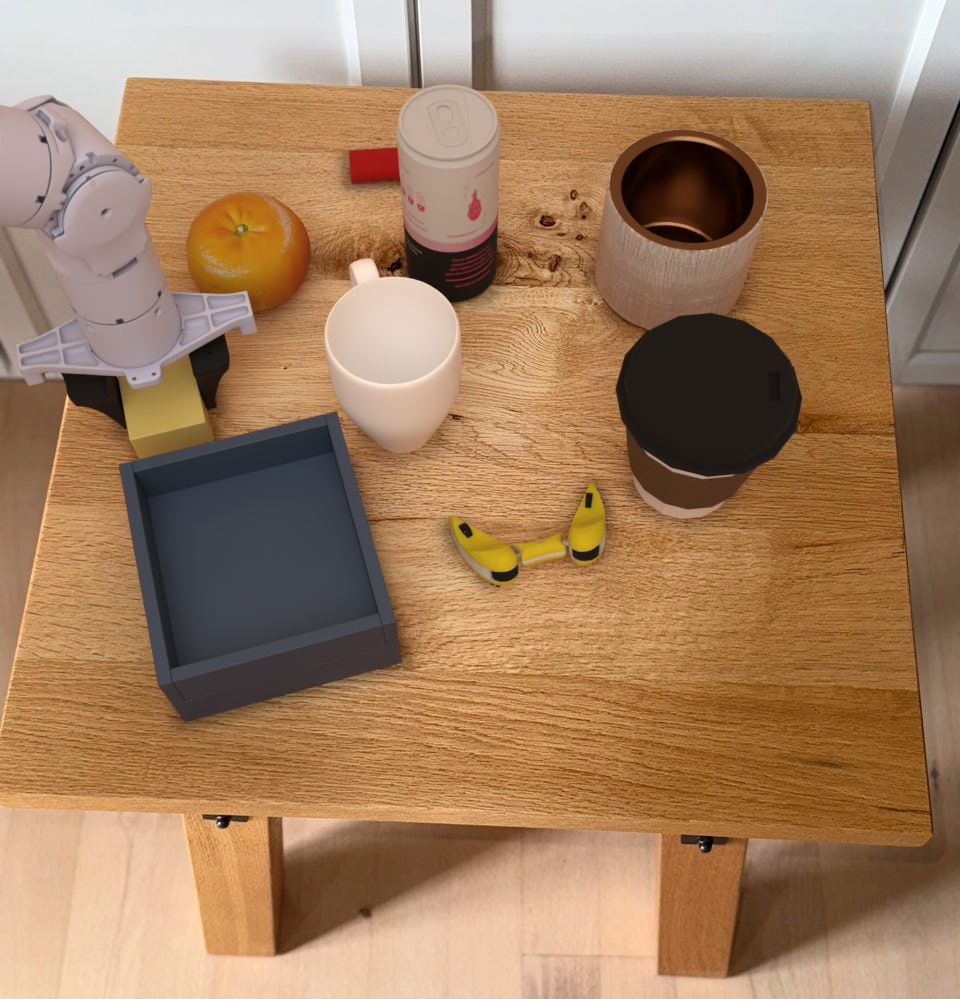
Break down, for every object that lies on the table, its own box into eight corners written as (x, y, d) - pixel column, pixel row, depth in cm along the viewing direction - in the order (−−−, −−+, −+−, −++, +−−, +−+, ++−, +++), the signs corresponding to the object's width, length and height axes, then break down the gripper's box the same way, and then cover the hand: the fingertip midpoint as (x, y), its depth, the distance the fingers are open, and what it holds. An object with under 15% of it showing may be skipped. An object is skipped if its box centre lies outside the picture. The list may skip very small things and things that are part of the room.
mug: (479, 459, 81) (479, 365, 71) (361, 494, 80) (344, 404, 70) (424, 321, 86) (417, 215, 76) (312, 352, 85) (290, 249, 75)
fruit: (165, 308, 83) (203, 212, 78) (177, 246, 89) (213, 153, 84) (282, 350, 86) (325, 259, 81) (285, 286, 92) (326, 199, 88)
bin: (185, 722, 73) (157, 685, 67) (146, 515, 79) (118, 464, 73) (402, 662, 75) (395, 621, 68) (347, 464, 81) (336, 410, 75)
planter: (683, 198, 92) (705, 104, 83) (771, 297, 88) (804, 209, 79) (564, 257, 89) (574, 166, 81) (649, 362, 85) (669, 278, 76)
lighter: (348, 146, 92) (452, 139, 93) (350, 158, 93) (452, 151, 94) (350, 174, 91) (455, 167, 91) (351, 186, 92) (455, 179, 93)
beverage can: (483, 227, 90) (485, 73, 77) (506, 296, 88) (512, 148, 74) (398, 245, 90) (385, 92, 76) (419, 315, 87) (409, 169, 73)
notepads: (142, 466, 81) (129, 440, 78) (124, 370, 84) (111, 341, 81) (216, 448, 82) (205, 421, 79) (195, 353, 85) (184, 324, 82)
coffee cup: (760, 415, 83) (803, 311, 72) (764, 559, 78) (810, 471, 67) (602, 403, 83) (621, 298, 73) (595, 546, 78) (615, 456, 68)
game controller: (475, 611, 75) (469, 572, 73) (451, 545, 80) (445, 506, 78) (626, 573, 76) (625, 533, 74) (594, 510, 81) (592, 470, 79)
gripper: (-2, 369, 68) (70, 482, 80) (251, 310, 70) (284, 429, 82) (-15, 273, 71) (56, 395, 83) (227, 219, 73) (263, 346, 85)
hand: (168, 406), depth 83 cm, fingers closed on notepads, 5 cm apart
